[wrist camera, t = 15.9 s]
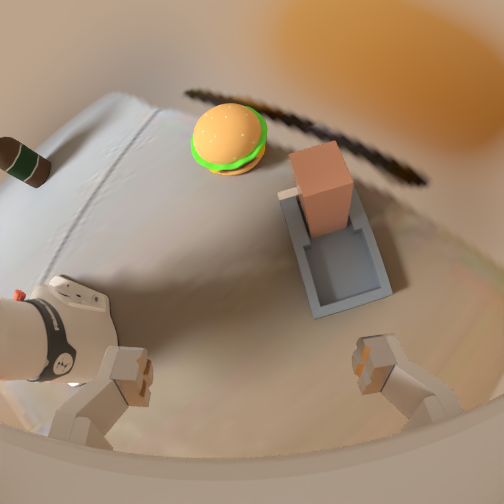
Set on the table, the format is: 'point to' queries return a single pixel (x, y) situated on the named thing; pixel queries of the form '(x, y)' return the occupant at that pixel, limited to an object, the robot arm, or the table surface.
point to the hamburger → (229, 139)
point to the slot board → (336, 259)
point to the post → (322, 187)
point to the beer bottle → (23, 162)
